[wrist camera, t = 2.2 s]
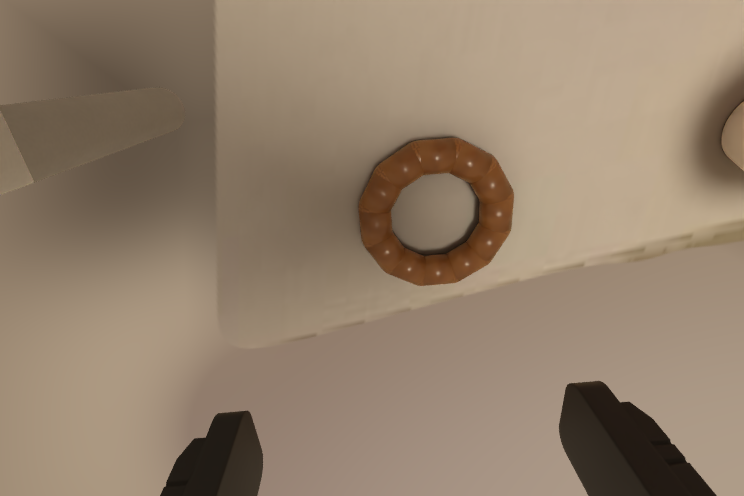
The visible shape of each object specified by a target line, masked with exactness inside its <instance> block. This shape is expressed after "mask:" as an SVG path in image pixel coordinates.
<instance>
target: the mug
mask: <svg viewBox="0 0 744 496" xmlns="http://www.w3.org/2000/svg"><path fill="white" fill-rule="evenodd" d="M721 143H722V148H723V151H724V152H725V154H726V155H727V156H728V157H729V158H730V159H731V160H732V161H733V162H734V163H735V164H736V165H737V166H738V167H740V168H741V169H742V170H743V171H744V101H743V102H742V103H741V104H740V105H739V106H738V107H737V108H736V109H735V110H734V111H733V112H732V114H731V115H730V117H729V118H728V120H727V122H726V124H725V126H724V129H723V132H722V138H721Z"/></svg>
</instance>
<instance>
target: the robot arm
mask: <svg viewBox="0 0 744 496" xmlns="http://www.w3.org/2000/svg"><path fill="white" fill-rule="evenodd" d="M559 433H560V438H561V442H562V445H563V448H564V450H565V452H566V454H567V456H568V458H569V460H570V461H571V464H572V466H573V467H574V469H575V471H576V473H577V475H578V477H579V479H580V480H581V482H582V484H583V486H584V488H585V490H586V492H587V494H588V495H589V496H716V494H715V493H714V492H713V491H712V490H711V488H710V487H709V486H708V485H707V484H706V482H705V481H704V480H703V479H702V478H701V476H700V475H699V474H698V473H697V472H696V470H695V469H694V468H693V467H692V466H691V464H690V463H687V462H686V460H685V457H684V456H683V455H682V453H681V452H680V451H679V450H678V449H677V448H676V446H675V445H673V444H671V442H670V439H669V438H668V437H667V435H666V434H665V433H664V432H663V431H662V429H661V428H660V427H659V426H658V425H657V423H656V422H655V421H654V420H653V419H652V418H651V417H650V416H648V415H647V414H645V413H644V412H643V411H641V410H640V409H638V408H637V407H636V406H634V405H633V404H632V403H630V402H621V403H620V402H619V401H618V399H617V398H616V397H615V395H614V394H613V393H612V392H611V390H610V389H609V388H608V387H607V385H606V384H604V383H603V382H601V381H594V382H582V383H571V384H568V385H567V387H566V390H565V396H564V401H563V407H562V413H561V418H560V423H559ZM262 470H263V454H262V449H261V446H260V442H259V439H258V436H257V433H256V429H255V426H254V423H253V420H252V417H251V414H250V412H249V411H240V412H229V413H218V414H217V415H216V416H215V417H214V419H213V421H212V424H211V426H210V428H209V431H208V434H207V436H206V438H196V439H194V440H193V441H192V442H191V443H190V444H189V445H188V447H187V448H186V449H185V450H184V451H183V453H182V454H181V455H180V456H179V457H178V458H177V460H176V462H175V464H174V466H173V469H172V471H171V473H170V476H169V477H168V480H167V482H166V487H164V488H163V491H162V493H161V495H160V496H257V494H258V490H259V486H260V481H261V477H262Z"/></svg>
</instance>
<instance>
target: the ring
mask: <svg viewBox="0 0 744 496" xmlns="http://www.w3.org/2000/svg"><path fill="white" fill-rule="evenodd" d="M441 173H450V174H452V175H454V176H456V177H458V178H460V179H463V180H465V181H467V182H469V183H470V185H471V187H472V188H473V190H474V192H475V193H476V195H477V197H478V198H479V200H480V209H479V223H478V224H477V226H476V228H475V229H474V231H473V232H472V234H471V236H470V237H469V239H468V240H467V242H465V243H463V244H462V245H460V246H459V247H457V248H455V249H454V250H452V251H450V252H449V253H447V254H439V255H428V256H423V255H420V254H418V253H416V252H413V251H411V250H409V249H406V248H404V247H403V245H402V244H401V243H400V241H399V240H398V239H397V237H396V236H395V234H394V233H393V232H392V219H391V210H392V208H393V206H394V204H395V202H396V200H397V198H398V196H399V194H400V192H401V190H402V189H403V188H405V187H406V186H408V185H409V184H411V183H412V182H414V181H415V180H417V179H418V178H420V177H421V176H423V175H430V174H441ZM513 202H514V192H513V189H512V187H511V185H510V183H509V181H508V180H507V178H506V176H505V174H504V172H503V170H502V169H501V167H500V165H499V163H498V161H497V160H496V158H495V157H494V156H493V155H491V154H489V153H487V152H485V151H483V150H481V149H479V148H477V147H475V146H473V145H471V144H469V143H467V142H465V141H463V140H461V139H459V138H442V139H431V140H419V141H413V142H411V143H409V144H408V145H406V146H405V147H403V148H402V149H400V150H399V151H398V152H396V153H395V154H393V155H392V156H390V157H389V158H387V159H386V160H385V161H383V162H382V163H380V164H379V165H378V166H377V167H376V168H375V170H374V172H373V174H372V176H371V178H370V180H369V182H368V184H367V187H366V189H365V191H364V193H363V195H362V197H361V199H360V201H359V206H358V207H359V218H360V228H361V238H362V242H363V245H364V246H365V248H366V249H367V250H368V251H369V253H370V254H371V255H372V257H373V258H374V259H375V260H376V262H377V263H378V264H379V265H380V267H381V268H382V269H383V270H384V271H385V272H386V273H388V274H390V275H393V276H395V277H398V278H400V279H403V280H405V281H408V282H410V283H413V284H415V285H418V286H426V285H438V284H449V283H456V282H459V281H460V280H462V279H464V278H466V277H467V276H469V275H471V274H472V273H474V272H476V271H478V270H479V269H481V268H483V267H484V266H486V265H488V264H489V263H490V262H491V260H492V259H493V258H494V256H495V255H496V253H497V252H498V250H499V249H500V247H501V246H502V244H503V243H504V241H505V240H506V238H507V237H508V235H509V233H510V231H511V226H512V214H513Z"/></svg>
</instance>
